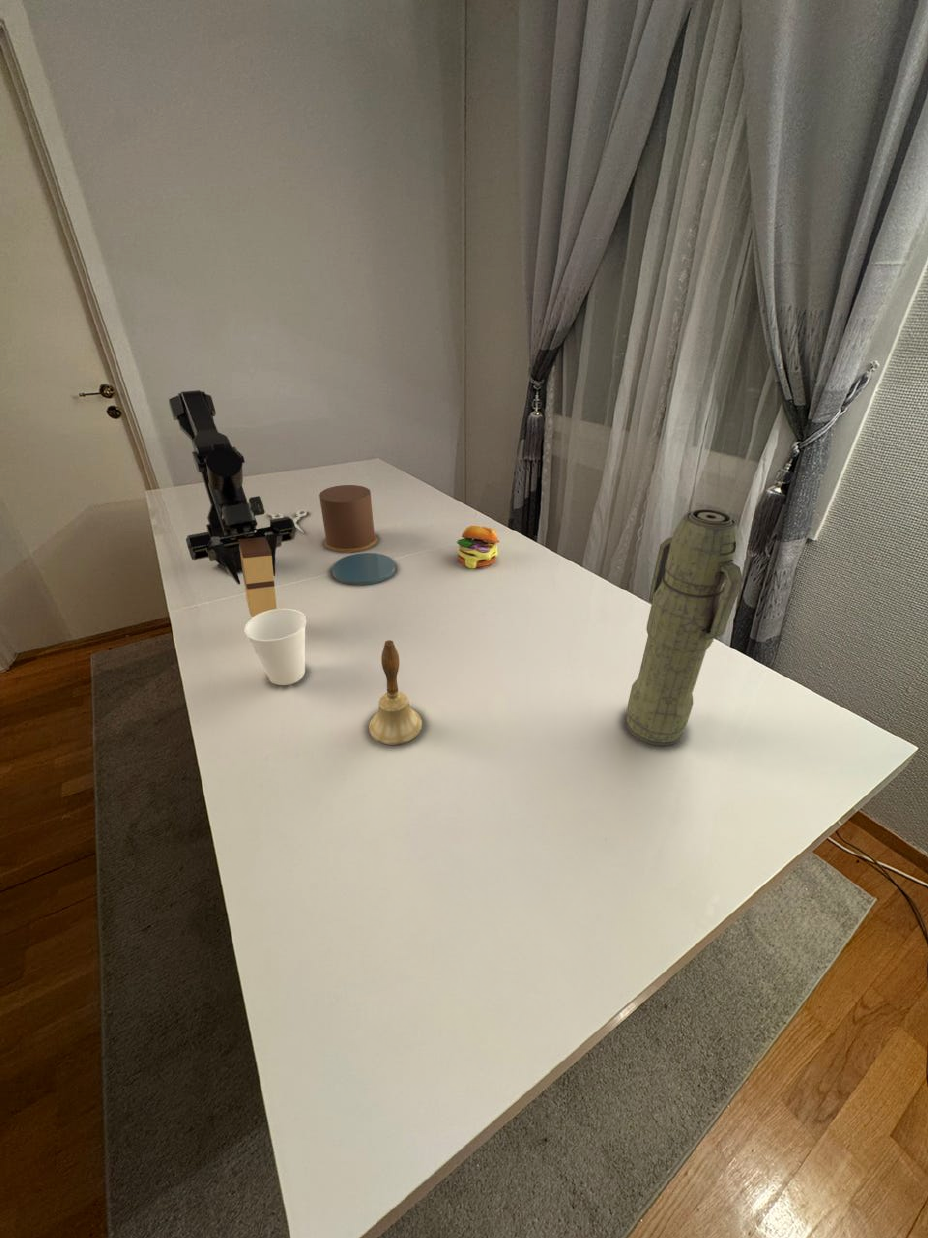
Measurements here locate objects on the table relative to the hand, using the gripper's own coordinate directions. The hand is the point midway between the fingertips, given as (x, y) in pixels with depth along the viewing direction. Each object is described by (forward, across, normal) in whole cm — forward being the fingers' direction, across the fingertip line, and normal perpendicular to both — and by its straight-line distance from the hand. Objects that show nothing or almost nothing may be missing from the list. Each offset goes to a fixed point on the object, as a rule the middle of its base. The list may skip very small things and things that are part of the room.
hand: (256, 579), depth 96 cm
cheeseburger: (+4, +53, +14) cm, 55 cm away
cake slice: (+4, 0, +6) cm, 7 cm away
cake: (-16, +30, +33) cm, 47 cm away
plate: (-3, +26, +21) cm, 34 cm away
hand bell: (+34, +11, -16) cm, 39 cm away
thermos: (+49, +46, -31) cm, 74 cm away
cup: (+19, 0, -1) cm, 19 cm away
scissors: (-29, +19, +47) cm, 59 cm away
